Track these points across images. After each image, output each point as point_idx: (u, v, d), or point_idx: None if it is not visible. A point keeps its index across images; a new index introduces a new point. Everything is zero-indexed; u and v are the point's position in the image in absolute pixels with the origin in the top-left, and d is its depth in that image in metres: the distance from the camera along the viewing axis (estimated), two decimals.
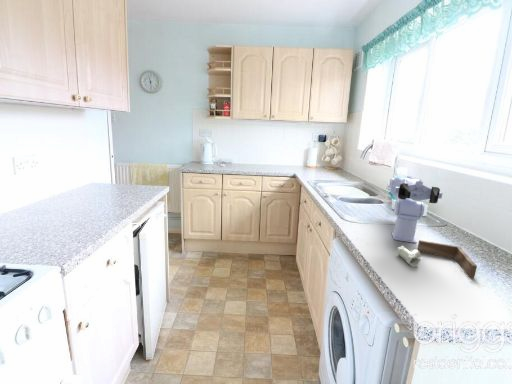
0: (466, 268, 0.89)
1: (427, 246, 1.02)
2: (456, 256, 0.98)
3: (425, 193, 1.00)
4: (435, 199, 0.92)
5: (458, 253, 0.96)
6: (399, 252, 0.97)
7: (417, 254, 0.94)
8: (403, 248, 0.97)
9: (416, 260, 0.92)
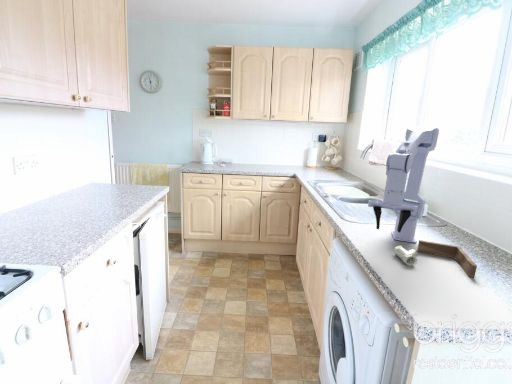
0: (466, 268, 0.89)
1: (427, 246, 1.02)
2: (456, 256, 0.98)
3: None
4: None
5: (458, 253, 0.96)
6: (396, 252, 0.97)
7: (414, 254, 0.94)
8: (400, 248, 0.97)
9: (413, 260, 0.92)
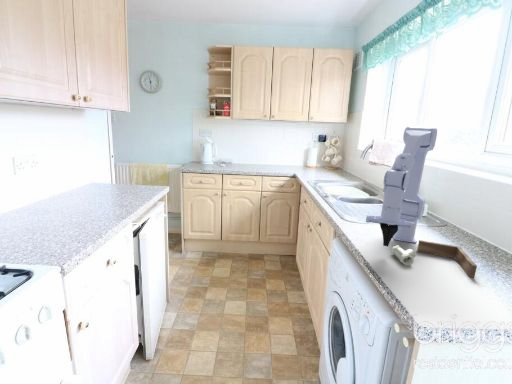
0: (466, 268, 0.89)
1: (427, 246, 1.02)
2: (456, 256, 0.98)
3: None
4: None
5: (458, 253, 0.96)
6: (393, 251, 0.98)
7: (411, 253, 0.95)
8: (397, 247, 0.97)
9: (410, 259, 0.93)
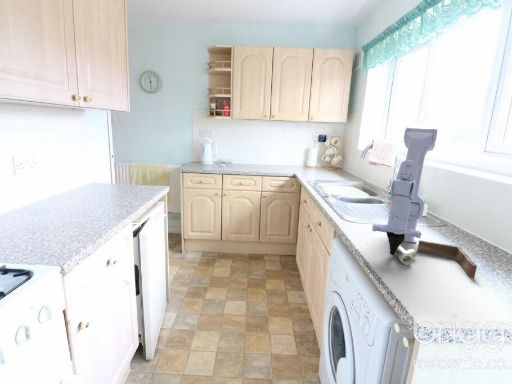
0: (466, 268, 0.89)
1: (427, 246, 1.02)
2: (456, 256, 0.98)
3: None
4: None
5: (458, 253, 0.96)
6: None
7: (412, 253, 0.94)
8: (399, 247, 0.97)
9: (410, 259, 0.93)
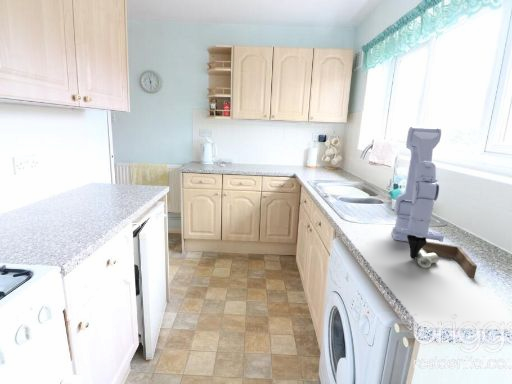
0: (466, 268, 0.89)
1: (427, 246, 1.02)
2: (456, 256, 0.98)
3: None
4: None
5: (458, 253, 0.96)
6: None
7: (432, 257, 0.92)
8: None
9: (428, 262, 0.91)
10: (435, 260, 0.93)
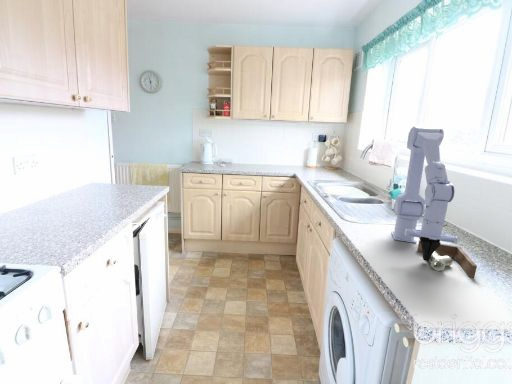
0: (466, 268, 0.89)
1: None
2: (456, 256, 0.98)
3: None
4: None
5: (458, 253, 0.96)
6: None
7: (446, 260, 0.91)
8: None
9: (442, 265, 0.90)
10: (449, 263, 0.91)
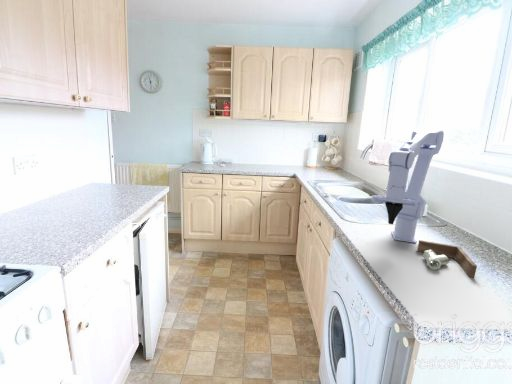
0: (466, 268, 0.89)
1: (427, 246, 1.02)
2: (456, 256, 0.98)
3: None
4: None
5: (458, 253, 0.96)
6: (424, 255, 0.96)
7: (442, 259, 0.92)
8: (429, 251, 0.95)
9: (438, 264, 0.90)
10: (445, 262, 0.92)
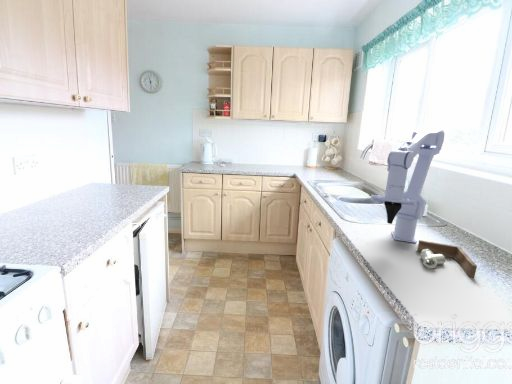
0: (466, 268, 0.89)
1: (427, 246, 1.02)
2: (456, 256, 0.98)
3: None
4: None
5: (458, 253, 0.96)
6: (421, 254, 0.97)
7: (439, 258, 0.92)
8: (426, 250, 0.96)
9: (434, 263, 0.91)
10: (441, 261, 0.93)
